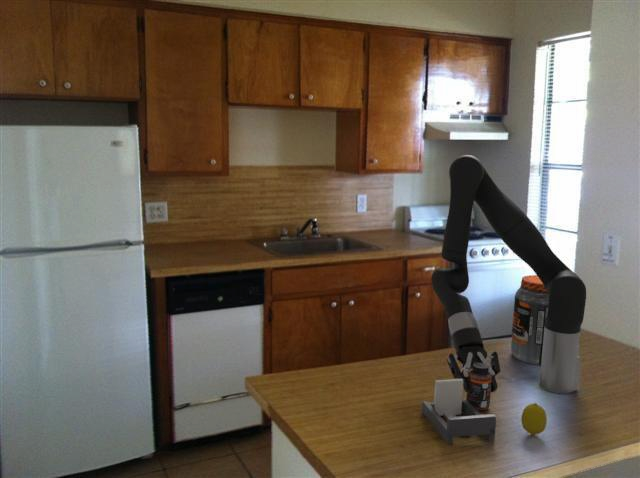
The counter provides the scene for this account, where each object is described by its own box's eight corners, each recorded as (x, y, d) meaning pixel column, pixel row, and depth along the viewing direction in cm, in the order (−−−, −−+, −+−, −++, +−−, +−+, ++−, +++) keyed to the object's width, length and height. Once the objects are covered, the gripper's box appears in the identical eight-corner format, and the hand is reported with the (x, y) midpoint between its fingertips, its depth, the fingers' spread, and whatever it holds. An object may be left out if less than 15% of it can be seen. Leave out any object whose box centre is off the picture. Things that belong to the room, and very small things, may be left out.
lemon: (544, 432, 137) (547, 400, 136) (545, 443, 132) (548, 410, 131) (520, 427, 139) (522, 396, 138) (520, 438, 134) (522, 406, 133)
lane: (463, 409, 148) (465, 387, 147) (494, 440, 133) (496, 416, 132) (422, 412, 146) (423, 390, 145) (447, 444, 131) (449, 420, 130)
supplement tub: (506, 347, 195) (512, 272, 190) (554, 350, 193) (562, 275, 188) (515, 364, 179) (521, 283, 175) (568, 368, 177) (576, 286, 173)
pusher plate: (459, 412, 146) (461, 378, 144) (479, 433, 135) (482, 397, 134) (433, 414, 144) (435, 380, 143) (451, 436, 134) (454, 399, 132)
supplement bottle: (490, 413, 147) (493, 370, 145) (466, 410, 148) (469, 368, 146) (488, 402, 152) (491, 362, 150) (465, 400, 154) (468, 359, 152)
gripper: (444, 327, 153) (461, 388, 143) (494, 325, 155) (514, 384, 146) (435, 339, 159) (451, 399, 149) (484, 337, 161) (502, 395, 152)
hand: (482, 391), depth 148 cm, fingers closed on supplement bottle, 6 cm apart
